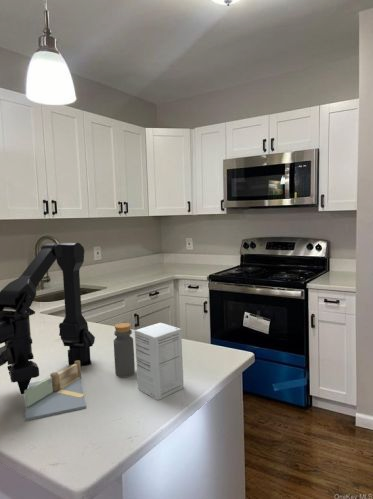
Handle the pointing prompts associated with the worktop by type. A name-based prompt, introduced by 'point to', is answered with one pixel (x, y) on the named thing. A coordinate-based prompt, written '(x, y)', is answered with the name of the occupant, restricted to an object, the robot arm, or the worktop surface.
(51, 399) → the board
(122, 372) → the bottle
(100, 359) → the worktop surface
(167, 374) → the supplement box
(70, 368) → the wooden wall with posts
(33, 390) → the fence panel
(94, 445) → the worktop surface
